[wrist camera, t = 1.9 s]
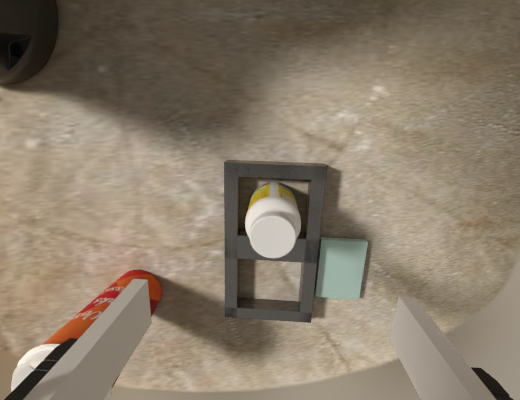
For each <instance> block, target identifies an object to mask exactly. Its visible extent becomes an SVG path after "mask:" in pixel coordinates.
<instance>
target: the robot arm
mask: <svg viewBox="0 0 520 400" xmlns="http://www.w3.org/2000/svg"><path fill="white" fill-rule="evenodd" d="M57 26H58V17H57V7H56V1H55V0H0V84H13V83H18V82H21V81H24V80H26V79H28V78H30V77H32V76H33V75H35V74H36V73H37V72H38V71H39V70H40V69H41V68H42V67H43V66H44V65H45V63H46V62H47V60H48V59H49V57H50V55H51V53H52V50H53V48H54V44H55V41H56V36H57ZM151 323H152V321H151V311H150V300H149V289H148V280H144V279H133V280H132V281H131V282H130V283H129V284H128V285H127V287H126V288H125V289H124V290H123V291H122V292H121V293H120V294H119V295H118V296H117V297H116V299H115V300H114V301H113V302H112V303H111V304H110V305H109V306H108V307H107V308H106V309H105V311H104V312H103V313H102V314H101V315H100V316H99V317H98V318H97V319H96V320H95V322H94V323H93V324H92V325H91V326H90V327H89V328H88V329H87V330H86V331H85V332H84V334H83V335H82V336H81V337H80V338H79V339H77V338H69V339H68V340H66V341H65V342H63V343H62V344H60V345H59V346H57V347H56V348H55V349H54V350H53V351H52V352H51V353H50V354H49V355H48V356H47V357H46V358H45V359H44V361H42V362H41V363H40V364H39V365H38V366H37V367H36V368H35V370H34V371H32V372H31V373H30V374H29V375H28V376H27V377H26V378H25V379H24V380H23V381H22V382H21V383H20V384H19V385H18V386H17V387H16V388H15V389H14V390H13V391H12V392H11V394H9V395H8V396H7V397H6V399H4V400H104V398H105V397H106V395H107V394H108V392H109V390H110V389H111V387H112V386H113V384H114V382H115V381H116V379H117V377H118V376H119V374H120V373H121V371H122V369H123V368H124V366H125V365H126V363H127V361H128V360H129V358H130V357H131V355H132V353H133V352H134V350H135V349H136V347H137V345H138V344H139V342H140V341H141V339H142V337H143V336H144V334H145V332H146V331H147V329H148V328H149V326H150V324H151ZM390 342H391V343H392V345H393V347H394V349H395V351H396V353H397V355H398V357H399V359H400V360H401V362H402V364H403V366H404V368H405V370H406V372H407V374H408V376H409V377H410V379H411V381H412V383H413V385H414V387H415V389H416V391H417V392H418V394H419V396H420V398H421V400H513V399H512V398H510V397H509V394H508V393H507V392H506V391H505V390H504V389H503V388H502V386H501V385H500V384H499V383H498V382H497V381H496V380H495V379H494V378H493V377H491V376H490V375H489V374H487V373H486V372H485V371H484V370H483V369H481V368H472V367H470V366H469V365H468V364H467V363H466V361H465V360H464V359H463V357H462V356H461V355H460V354H459V352H458V351H457V350H456V349H455V348H454V346H453V345H452V344H451V342H450V341H449V340H448V339H447V337H446V336H445V335H444V334H443V332H442V331H441V330H440V329H439V327H438V326H437V325H436V324H435V322H434V321H433V320H432V319H431V317H430V316H429V315H428V314H427V312H426V311H425V310H424V309H423V307H422V306H421V305H420V304H419V302H418V301H417V300H416V299H415V297H406V296H399V298H398V303H397V307H396V312H395V317H394V321H393V326H392V331H391V336H390Z"/></svg>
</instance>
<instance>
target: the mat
mask: <svg viewBox="0 0 520 400" xmlns="http://www.w3.org/2000/svg"><path fill="white" fill-rule="evenodd" d="M367 246H368V241H367V240H366V239H351V238H332V237H320V246H319V256H318V265H317V275H316V284H315V297H328V298H344V299H359V296H360V289H361V283H362V277H363V271H364V264H365V258H366V252H367Z"/></svg>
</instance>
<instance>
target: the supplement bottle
mask: <svg viewBox="0 0 520 400" xmlns="http://www.w3.org/2000/svg"><path fill="white" fill-rule="evenodd" d="M245 228H246V233H247V235H248V237H249V238H250V243H251V245H252V247H253V249H254V250H255V251H256V252H257V253H258V254H260V255H261V256H264V257H267V258H280V257H282V256H285V255H286V254H288V253H289V252H290V251H291V250H292V248H293V247H294V245H295V242H296V239H297V237H298V235H299V233H300V229H301V218H300V214H299V211H298V207H297V203H296V200H295V197H294V195H293V193H292V191H291V190H290V189H289V188H288V187H286V186H285V185H283V184H281V183H277V182H269V183H265V184H263V185H261V186H259V187H258V188H257V189H256V190H255V191H254V193H253V195H252V197H251V200H250V204H249V208H248V211H247V214H246V219H245Z"/></svg>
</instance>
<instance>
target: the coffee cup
mask: <svg viewBox="0 0 520 400" xmlns="http://www.w3.org/2000/svg"><path fill="white" fill-rule="evenodd" d="M133 279H144V280H148V289H149V300H150V311H151V316H152V314H153V313H154V311H155V309H156V307H157V305H158V303H159V301H160V299H161V296H162V287H161V284H160V282H159V281H158V279H157V278H156V277H155V276H154V275H152V274H151V273H149V272H147V271H143V270H132V271H129V272H127V273H126V274H124V275H123V276H122V277H120V278H119V279H118V280H117V281H116V282H114V283H113V284H112V285H111V286H110V287H108V288H107V289H106V290H105V291H104V292H103V293H101V294H100V295H99V296H98V297H97V298H96V299H94V300H93V301H92V302H91V303H90V304H89V305H87V306H86V307H85V308H84V309H83V310H82V311H81V312H79V313H78V314H77V315H76V316H75V317H74V318H72V319H71V320H70V321H69V322H68V323H67V324H65V325H64V326H63V327H62V328H61V329H60V330H59V331H57V332H56V333H55V334H54V335H53V336H52V337H50V338H49V339H48V340H47V341H46V342H45V343H43V344H42V345H40V346H37V347H35V348H33V349H31V350H30V351H28V352H27V353H26V354H25V355H24V356H23V358H22V359H21V360H20V361H19V362H18V366H17V368H16V369H15V371H14V372H13V377H12V383H11V391H13V390H14V389H15V388H16V387H17V386H18V385H19V384H20V383H21V382H22V381H23V380H24V379H25V378H26V377H27V376H28V375H29V374H30V373H31V372H32V371H34V370H35V368H36V367H37V366H38V365H39V364H40V363H41V362H42V361H44V359H45V358H46V357H47V356H48V355H49V354H50V353H51V352H52V351H53V350H54V349H55V348H56V347H57V346H59V345H60V344H62V343H63V342H65V341H66V340H68V339H69V338H77V339H79V338H80V337H81V336H82V335H83V334H84V332H85V331H86V330H87V329H88V328H89V327H90V326H91V325H92V324H93V323H94V322H95V320H96V319H97V318H98V317H99V316H100V315H101V314H102V313H103V312H104V311H105V309H106V308H107V307H108V306H109V305H110V304H111V303H112V302H113V301H114V300H115V299H116V297H117V296H118V295H119V294H120V293H121V292H122V291H123V290H124V289H125V288H126V287H127V285H128V284H129V283H130V282H131V281H132V280H133ZM119 375H120V374H119ZM118 377H119V376H118ZM118 377H117V378H118ZM116 380H117V379H116ZM115 382H116V381H115ZM115 382H114V384H115ZM114 384H113V386H114ZM113 386H112V387H113ZM112 387H111V389H110V390H109V392H108V394H107V395H106V397H105V398H104V400H110V398H111V394H112Z"/></svg>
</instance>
